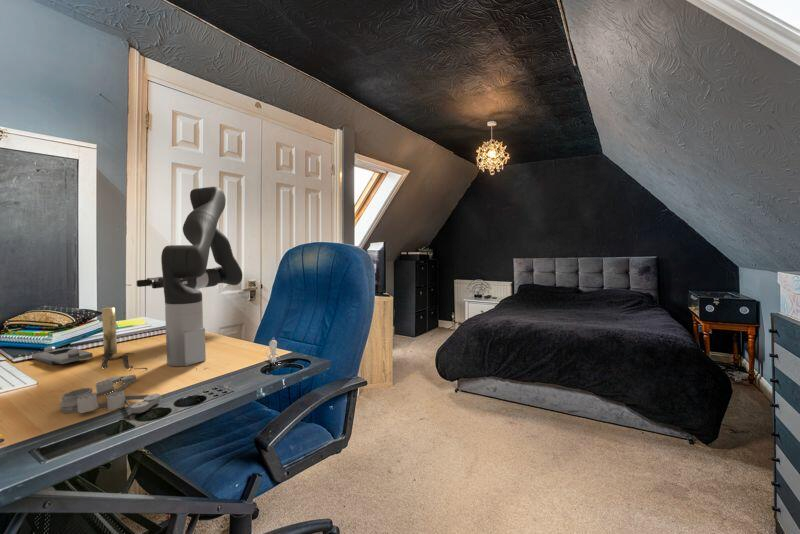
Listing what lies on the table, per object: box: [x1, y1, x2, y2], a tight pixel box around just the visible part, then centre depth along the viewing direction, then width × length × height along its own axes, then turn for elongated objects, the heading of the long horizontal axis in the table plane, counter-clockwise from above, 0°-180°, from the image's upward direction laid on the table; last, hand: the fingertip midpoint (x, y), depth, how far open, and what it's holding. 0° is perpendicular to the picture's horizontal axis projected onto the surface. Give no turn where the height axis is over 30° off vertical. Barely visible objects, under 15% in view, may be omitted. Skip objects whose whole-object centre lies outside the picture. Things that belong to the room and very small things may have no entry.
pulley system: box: [58, 374, 162, 415], centre depth 80 cm, size 27×5×15 cm
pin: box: [101, 306, 118, 355], centre depth 114 cm, size 3×3×14 cm
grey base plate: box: [31, 346, 93, 366], centre depth 108 cm, size 19×7×4 cm, turn 62°
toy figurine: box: [265, 337, 280, 366], centre depth 107 cm, size 5×8×7 cm, turn 42°
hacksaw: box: [101, 352, 149, 374], centre depth 105 cm, size 24×10×2 cm, turn 36°
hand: (144, 284), depth 123 cm, fingers open, 8 cm apart
